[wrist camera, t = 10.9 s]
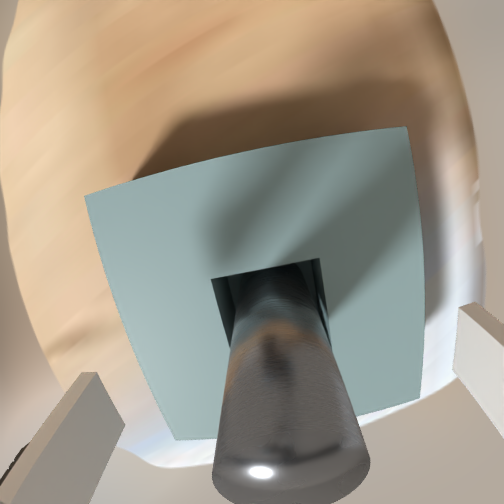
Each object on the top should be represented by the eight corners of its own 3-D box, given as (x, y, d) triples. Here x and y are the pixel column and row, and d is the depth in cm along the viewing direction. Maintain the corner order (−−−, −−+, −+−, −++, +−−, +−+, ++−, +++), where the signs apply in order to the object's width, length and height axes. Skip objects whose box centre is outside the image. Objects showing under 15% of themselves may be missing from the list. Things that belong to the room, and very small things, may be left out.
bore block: (126, 187, 20) (84, 196, 14) (370, 135, 19) (406, 126, 13) (190, 391, 24) (175, 440, 18) (392, 355, 22) (419, 398, 17)
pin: (240, 253, 20) (207, 427, 6) (307, 256, 20) (389, 423, 6) (239, 314, 21) (215, 511, 7) (301, 315, 21) (349, 508, 7)
